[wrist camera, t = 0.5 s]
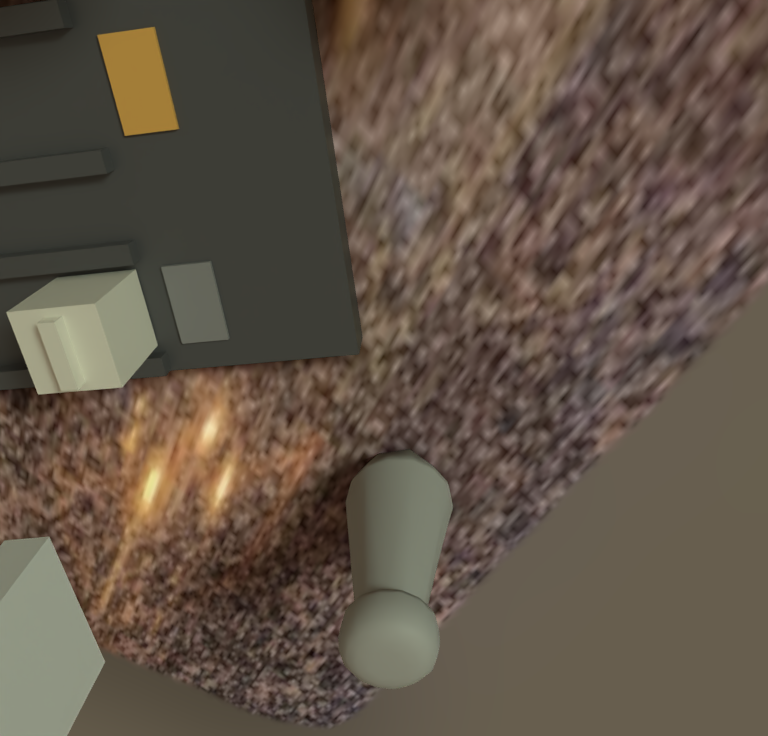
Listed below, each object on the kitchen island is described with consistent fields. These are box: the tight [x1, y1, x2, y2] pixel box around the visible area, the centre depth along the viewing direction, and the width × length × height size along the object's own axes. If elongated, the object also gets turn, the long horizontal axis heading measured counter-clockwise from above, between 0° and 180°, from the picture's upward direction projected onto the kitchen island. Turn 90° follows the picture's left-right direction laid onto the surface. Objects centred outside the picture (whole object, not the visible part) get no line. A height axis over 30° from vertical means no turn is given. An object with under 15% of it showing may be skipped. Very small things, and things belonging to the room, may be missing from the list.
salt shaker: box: [338, 449, 453, 689], centre depth 35 cm, size 6×6×13 cm
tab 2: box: [6, 269, 158, 395], centre depth 32 cm, size 4×4×5 cm
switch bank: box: [0, 0, 362, 390], centre depth 33 cm, size 17×28×3 cm, turn 97°
